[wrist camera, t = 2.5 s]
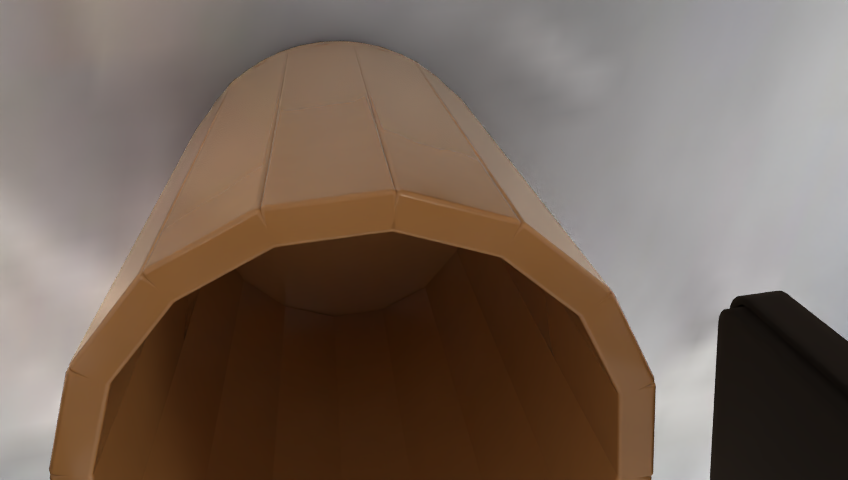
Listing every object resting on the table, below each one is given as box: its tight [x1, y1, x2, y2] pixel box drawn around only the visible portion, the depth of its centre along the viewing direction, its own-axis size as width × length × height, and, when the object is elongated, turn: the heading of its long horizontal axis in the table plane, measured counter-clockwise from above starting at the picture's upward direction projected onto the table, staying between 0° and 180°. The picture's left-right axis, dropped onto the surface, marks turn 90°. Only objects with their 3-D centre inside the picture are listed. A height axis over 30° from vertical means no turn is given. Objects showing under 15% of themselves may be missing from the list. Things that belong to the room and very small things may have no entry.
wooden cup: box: [49, 41, 656, 480], centre depth 13 cm, size 7×7×10 cm
